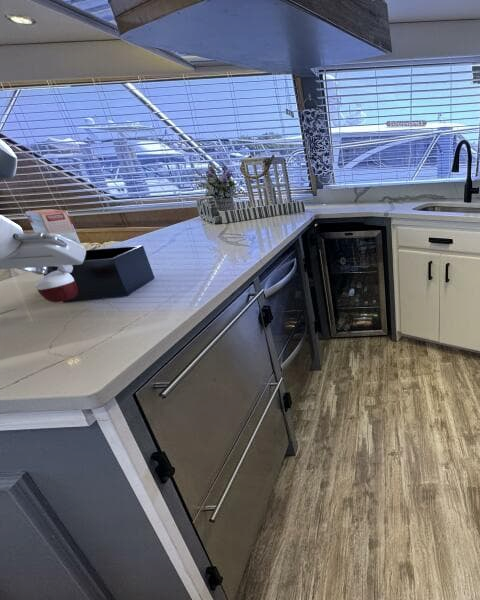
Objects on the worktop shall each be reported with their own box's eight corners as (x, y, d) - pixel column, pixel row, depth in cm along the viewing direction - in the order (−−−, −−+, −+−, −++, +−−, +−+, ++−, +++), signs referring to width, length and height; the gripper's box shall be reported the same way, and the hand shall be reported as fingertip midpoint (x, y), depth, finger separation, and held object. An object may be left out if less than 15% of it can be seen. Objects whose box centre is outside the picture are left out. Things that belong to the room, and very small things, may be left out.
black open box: (62, 302, 81) (43, 264, 77) (99, 283, 94) (85, 250, 90) (128, 295, 83) (112, 258, 80) (154, 278, 97) (143, 245, 93)
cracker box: (99, 282, 95) (67, 209, 87) (72, 289, 90) (36, 213, 82) (83, 275, 102) (52, 207, 94) (57, 281, 97) (22, 210, 89)
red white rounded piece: (78, 301, 72) (51, 249, 67) (40, 309, 69) (8, 255, 64) (86, 290, 79) (62, 242, 74) (52, 297, 76) (25, 247, 71)
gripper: (54, 219, 61) (109, 255, 74) (-68, 225, 59) (11, 261, 72) (44, 247, 59) (103, 280, 72) (-83, 254, 57) (1, 286, 70)
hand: (56, 270), depth 72 cm, fingers closed on red white rounded piece, 4 cm apart
